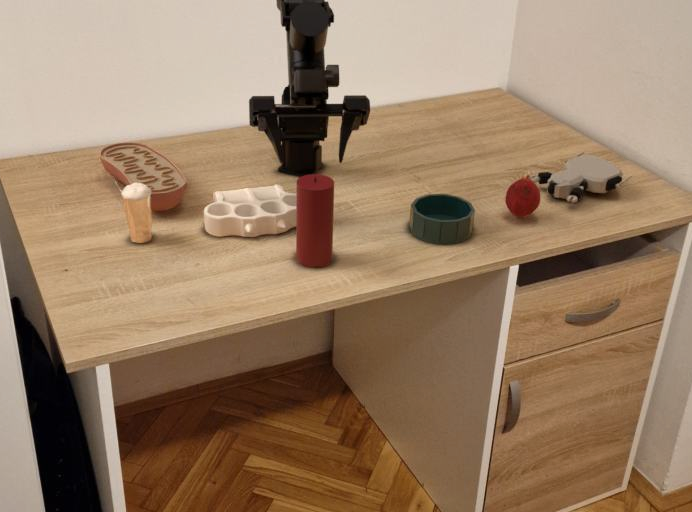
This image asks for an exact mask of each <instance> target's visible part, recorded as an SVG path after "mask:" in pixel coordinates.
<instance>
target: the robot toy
mask: <svg viewBox="0 0 692 512" xmlns="http://www.w3.org/2000/svg"><path fill="white" fill-rule="evenodd" d="M623 176H624V172H623V171H622V170H621V169H620V167H618V166H617V165H616V164H614V163H613V162H611V161H609V160H607V159H605V158H602V157H599V156H596V155H592V154H585V150H584V151H583V150H582V151H581V152H580V153H578V154H576V156H574V157H572V158H569V159H567V160H566V161H565V163H564V167H563V170H559V171H556V172H553V173H552V172H549V171H542V172H538V174H537V175H535V174H533V175H530V180H532V181H533V182H534V183H535V184H536V183H538V184H539V185H546V193H547V194H548V195H551V196H553V198H557V199H559V198H561V199H563V200H566V201H567V202H569V203H570V202H571V203H574V204H576V203H578V202H579V201H580V200H581V199H582V197H583V195H584V192H586V191H587V192H591V193H594V194H605V193H608V192H611V191H613V190H617V189H618V188H620V187H621V186H622V185H623V184H624V183H626V182H627V181H628V180H630V179H632V178H633V177H634V174H630V175H628V176H627V177H626V178H625V179H623Z"/></svg>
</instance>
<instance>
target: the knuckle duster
mask: <svg viewBox="0 0 692 512" xmlns="http://www.w3.org/2000/svg"><path fill="white" fill-rule="evenodd" d="M212 199H213V202H212V203H209V204H208V205H206V206H205V208H203V209H204V210H203V218H204V219H203V221H204V230H205V231H206V233H207V234H209V235H211V236H214V237H218V238H223V237H228V236H238V237H243V238H257V237H259V236H263V235H279V234H282V233H286V232H287V231H289V230H290V229H293V228H296V192H295V193H294V192H287V191H285V190H284V187H283V186H282V185H281V184H279V183H276V184H274V185H268V186H260V187H258V186H257V187H244V188H240V189H231V190H222V191H220V190H216V191H213V192H212Z"/></svg>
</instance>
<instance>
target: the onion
mask: <svg viewBox="0 0 692 512" xmlns="http://www.w3.org/2000/svg"><path fill="white" fill-rule="evenodd" d="M530 176H531V175H530V174H529V173H525V174H523V176H522V177H521V178H520V179H517V180H516V181H513V183H512V184H510V185H509V186H508V188H507V190H506V193H505V199H504V200H505V206H506V208H507V209H508V211H509V212H510V213H511V214H512V215H513V216H515V217H516V218H518V219H523V218H525V217H528V216H530V215H531V214H533V213H534V212H535V211H536V210H537V209H538V208H539V206H540V204H541V191H540V189H539V187H538V185H537V184H536V183H534V182H533V181H532V180H530Z"/></svg>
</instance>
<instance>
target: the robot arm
mask: <svg viewBox="0 0 692 512" xmlns="http://www.w3.org/2000/svg"><path fill="white" fill-rule="evenodd" d="M276 9H277V10H278V11H279V12H280V14H279V15H280V25H281V27H282V28H284V30H285V32H286V33H285V35H286V58H287V59H286V60H287V80H288V85H287V86H285V87H284V89H283V92H282V94H281V102H280V103H275V102H276V101H275V95H252V96H251V97H250V98H249V99H248V113H249V114H248V117H249V118H248V119H249V126H250V127H252V128H257V131H258V132H264V133H265V135H266V137H267V139H268V140H269V142H270V143H271V145H272V147H273V150H274V152H275V155H276V157H277V159H278V161H279V164H280V166H278V168H277V172H280V173H285V174H290V175H294V176H299V177H302V176H304V175H309V174H316V172H317V171H318V170H319V169H321V168H322V167H323V164H324V163H323V162H322V161H323V146H322V145H320V143H321V142H325V139H326V138H328V128H329V127H328V126H329V121H330V117H341V124H340V129H339V143H338V163H339V164H342V163H343V160H344V156H345V152H346V148H347V145H348V142H349V140H350V137H351V135H352V133H353V132H354V131H359V130H360V127H364V126H366V125H367V124H368V120H369V117H370V114H371V101H370V99H369V97H368V96H367V95H366V94H365V95H361V94H360V95H358V94H355V95H354V94H353V95H348V94H347V95H343V100H342V103H328V100H329V88H338V87H339V86H340V65H339V64H327V65H326V60H325V46H326V44H327V38H328V32H329V31H328V30H329V28H330V27H331V26H332V25H331V24H334V23H335V13H334V11H333V8H331V6H330V4H329V1H325V0H276Z"/></svg>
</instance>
